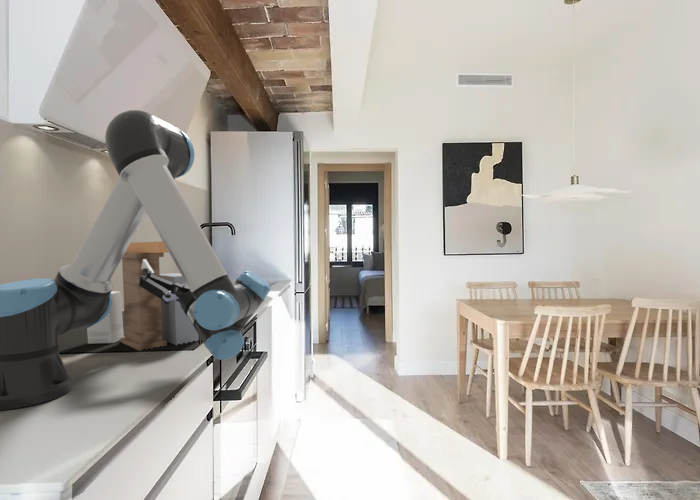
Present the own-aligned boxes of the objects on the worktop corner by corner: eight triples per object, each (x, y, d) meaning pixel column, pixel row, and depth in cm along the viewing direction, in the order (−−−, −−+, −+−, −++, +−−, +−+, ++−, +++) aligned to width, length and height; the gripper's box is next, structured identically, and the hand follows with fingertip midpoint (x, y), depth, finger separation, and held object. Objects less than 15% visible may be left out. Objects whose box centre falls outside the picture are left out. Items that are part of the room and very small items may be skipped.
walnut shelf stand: (138, 350, 125) (135, 252, 124) (120, 342, 136) (117, 252, 135) (167, 345, 130) (163, 251, 129) (147, 337, 142) (144, 251, 141)
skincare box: (124, 339, 140) (122, 291, 140) (111, 344, 134) (109, 293, 133) (100, 339, 141) (98, 291, 141) (85, 344, 135) (83, 293, 134)
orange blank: (159, 252, 119) (158, 241, 119) (124, 252, 137) (123, 242, 136) (173, 252, 122) (173, 241, 122) (137, 251, 139) (136, 242, 139)
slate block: (176, 345, 130) (173, 276, 130) (156, 337, 142) (153, 274, 141) (198, 340, 135) (196, 274, 134) (177, 333, 146) (175, 272, 146)
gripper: (145, 329, 97) (117, 277, 110) (244, 313, 114) (210, 270, 127) (150, 301, 94) (121, 251, 107) (251, 290, 112) (216, 248, 125)
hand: (170, 262), depth 117 cm, fingers open, 13 cm apart
